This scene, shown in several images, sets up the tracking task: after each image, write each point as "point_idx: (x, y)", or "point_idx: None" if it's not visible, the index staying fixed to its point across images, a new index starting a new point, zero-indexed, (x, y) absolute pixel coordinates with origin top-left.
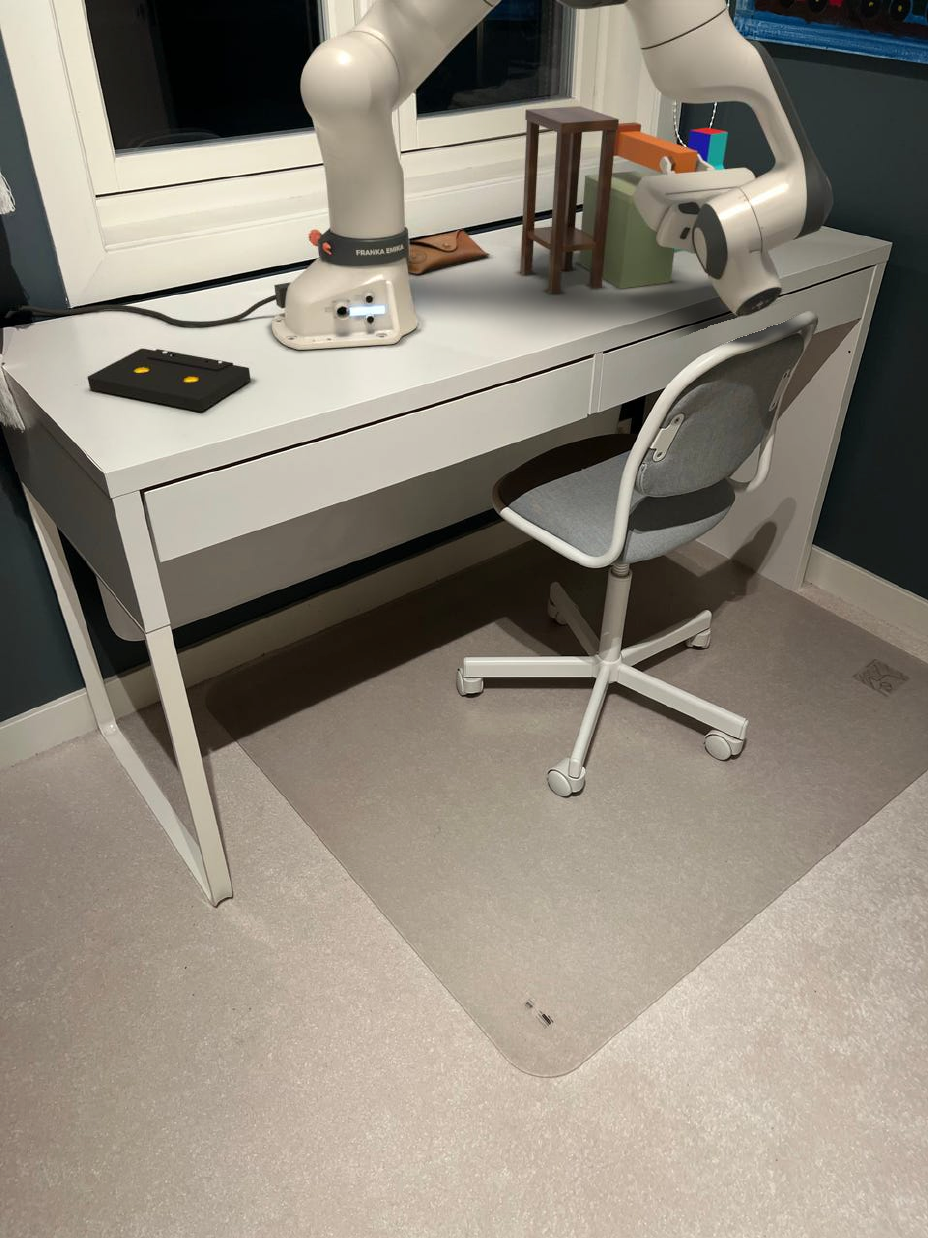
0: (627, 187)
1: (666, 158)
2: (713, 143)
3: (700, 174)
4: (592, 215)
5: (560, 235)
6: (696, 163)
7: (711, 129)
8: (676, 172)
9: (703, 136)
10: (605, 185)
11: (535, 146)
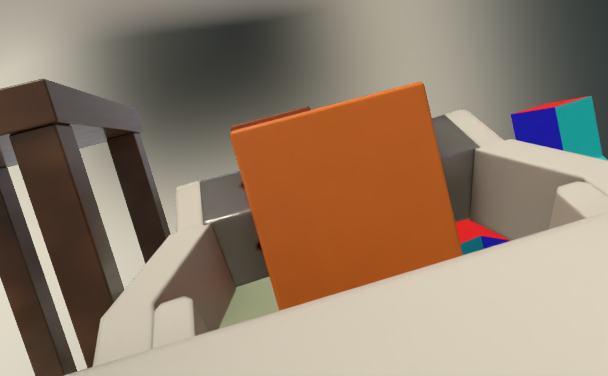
0: (266, 304)
1: (190, 195)
2: (567, 122)
3: (482, 300)
4: None
5: None
6: (456, 174)
7: (554, 103)
8: (284, 281)
9: (540, 116)
10: (95, 347)
11: (5, 234)
